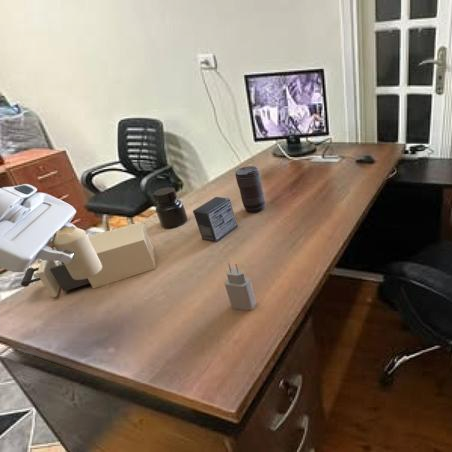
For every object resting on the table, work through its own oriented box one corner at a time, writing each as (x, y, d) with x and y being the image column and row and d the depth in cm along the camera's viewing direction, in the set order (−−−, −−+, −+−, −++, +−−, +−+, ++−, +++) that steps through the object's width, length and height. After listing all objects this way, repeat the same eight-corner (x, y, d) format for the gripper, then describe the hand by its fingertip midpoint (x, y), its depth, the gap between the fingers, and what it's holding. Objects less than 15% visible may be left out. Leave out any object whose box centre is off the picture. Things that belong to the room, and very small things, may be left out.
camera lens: (239, 210, 127) (229, 171, 120) (256, 202, 132) (248, 164, 125) (253, 216, 122) (244, 175, 115) (270, 207, 127) (263, 168, 120)
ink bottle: (187, 213, 128) (177, 183, 123) (190, 223, 121) (180, 191, 116) (159, 221, 125) (148, 190, 119) (160, 231, 118) (148, 199, 112)
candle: (93, 279, 69) (70, 236, 64) (66, 281, 69) (40, 238, 64) (108, 262, 74) (87, 221, 69) (82, 264, 74) (60, 224, 69)
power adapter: (251, 311, 80) (239, 268, 74) (230, 308, 81) (217, 266, 75) (257, 302, 82) (246, 260, 76) (237, 299, 84) (225, 258, 78)
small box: (223, 223, 119) (215, 195, 114) (238, 226, 116) (231, 198, 111) (200, 239, 111) (191, 210, 106) (216, 242, 108) (207, 212, 103)
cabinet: (93, 288, 93) (77, 259, 88) (96, 265, 103) (81, 238, 98) (156, 268, 99) (144, 239, 94) (152, 248, 109) (141, 221, 104)
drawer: (29, 305, 88) (12, 280, 84) (38, 281, 96) (23, 258, 93) (115, 277, 95) (103, 253, 91) (115, 258, 104) (104, 235, 100)
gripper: (-38, 229, 53) (62, 268, 59) (33, 180, 71) (104, 214, 77) (-53, 259, 55) (46, 294, 61) (20, 204, 72) (91, 235, 78)
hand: (79, 249), depth 69 cm, fingers closed on candle, 5 cm apart
